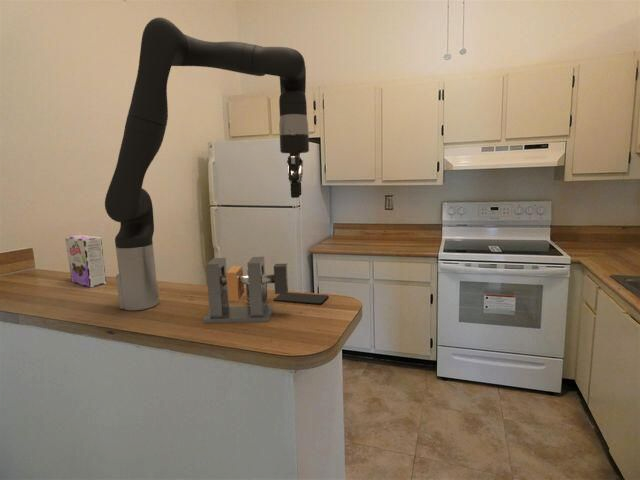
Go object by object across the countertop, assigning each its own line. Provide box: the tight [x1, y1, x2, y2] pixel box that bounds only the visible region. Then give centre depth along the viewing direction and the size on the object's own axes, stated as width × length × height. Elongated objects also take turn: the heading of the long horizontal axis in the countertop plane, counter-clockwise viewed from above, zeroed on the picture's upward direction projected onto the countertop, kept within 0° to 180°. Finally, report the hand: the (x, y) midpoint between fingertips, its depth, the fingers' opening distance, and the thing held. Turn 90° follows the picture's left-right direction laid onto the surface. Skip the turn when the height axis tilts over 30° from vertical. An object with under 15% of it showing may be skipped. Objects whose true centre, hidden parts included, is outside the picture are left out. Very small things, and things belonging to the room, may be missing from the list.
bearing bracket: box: [202, 256, 274, 324], centre depth 97 cm, size 16×9×14 cm, turn 90°
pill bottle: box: [245, 267, 268, 305], centre depth 107 cm, size 6×6×10 cm
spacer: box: [226, 265, 245, 302], centre depth 96 cm, size 2×7×7 cm, turn 0°
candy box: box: [65, 234, 107, 288], centre depth 132 cm, size 14×6×16 cm, turn 55°
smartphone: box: [273, 292, 329, 306], centre depth 110 cm, size 7×1×15 cm
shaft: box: [222, 263, 289, 295], centre depth 96 cm, size 18×3×7 cm, turn 90°
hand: (296, 196), depth 103 cm, fingers open, 8 cm apart
